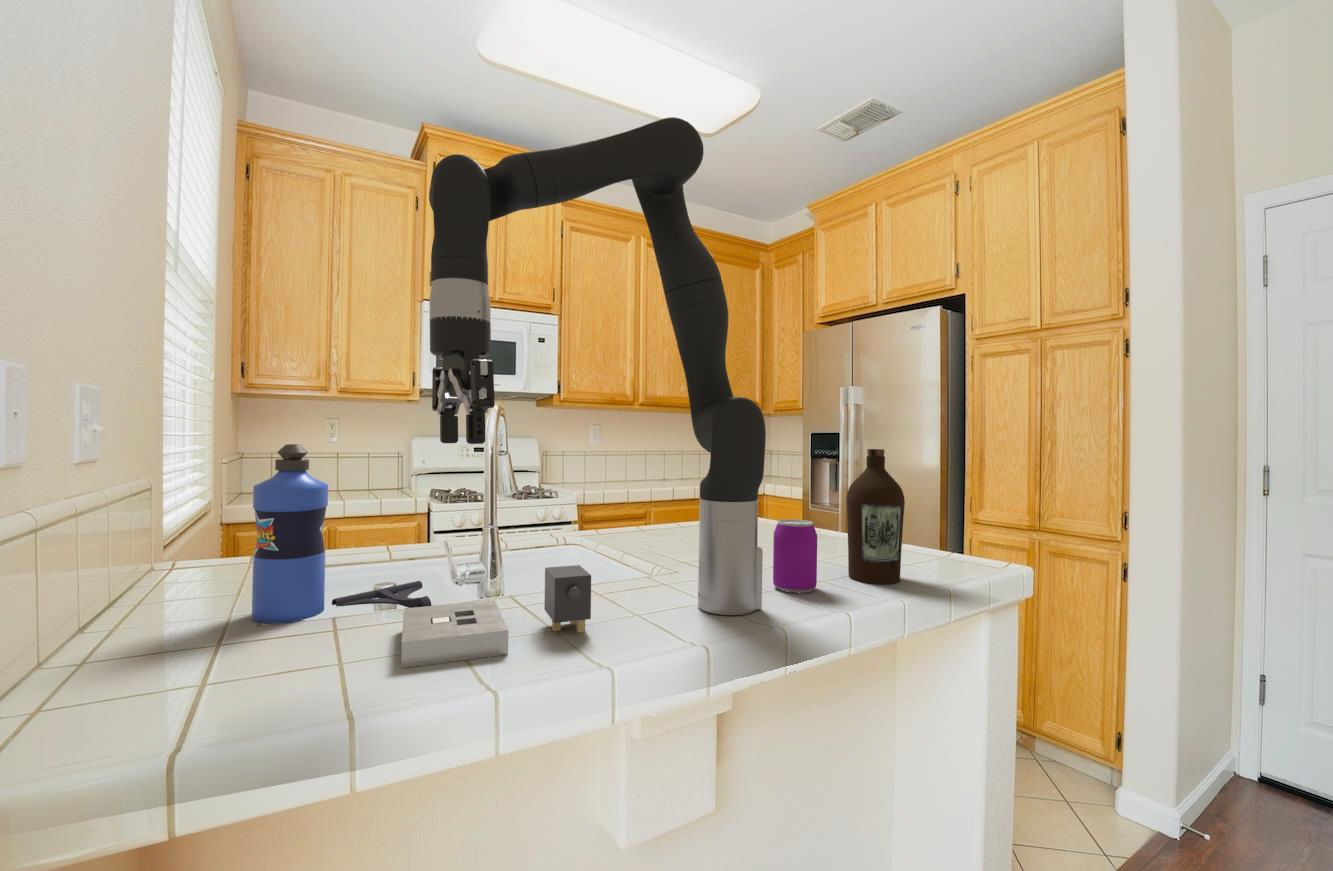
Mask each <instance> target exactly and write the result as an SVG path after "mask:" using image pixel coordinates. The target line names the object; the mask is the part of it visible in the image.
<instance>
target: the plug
mask: <svg viewBox="0 0 1333 871" xmlns="http://www.w3.org/2000/svg"><path fill="white" fill-rule="evenodd" d="M591 600H592V575H591V573H589V572H588V570H586V569H585V568H583V567H582V566H581V565H580V564H576V565H562V566H561V565H560V566H548V567H544V610H545V612H546V614H547V615H548V616H549V618H550V619H551V630H552V631H553V632H557V631H561V629H562V627H561V623H568V622H569V623H570V625H575V631H576V632H577V633H586V620H591V619H592V618H591V617H592V616H591V615H592V610H591V609H592V601H591Z"/></svg>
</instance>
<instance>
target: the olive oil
mask: <svg viewBox="0 0 1333 871" xmlns="http://www.w3.org/2000/svg"><path fill="white" fill-rule="evenodd" d="M866 450H867V451H866V453H867V456H865V457H866V468H865V469H864V471H863V472H862V473H860V474H859V476H857V478H855V479H854V481H853V482H852V483H851V484H850V485H849V487H848V491H847V494H846V502H845V503H846V519H847V520H846V523H847V524H846V526H847V527H846V528H847V551H848V552H847V553H848V556H847V558H848V560H847V561H848V564H847V565H848V569H847V570H848V577H849V578H850V579H851V580H854V581H857V580H858V581H857V582H860V581H861V583H865V582H867V583H866V584H873V583H875V584H874V585H892V583H893V584H897V583H899V582H900V580H901V567H902V566H901V564H902V547H903V544H902V543H903V532H904V531H903V529H904V528H903V527H904V518H905V506H906V505H905V495H904V492H903V489H902V486H900V484H899V483H898V482H897V481H896V480H895V478H893V476H892V475H891V474H890V473H889V472H888V470H886V468H885V466H886V457H885V449H884V448H867V449H866Z"/></svg>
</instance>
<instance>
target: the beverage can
mask: <svg viewBox="0 0 1333 871" xmlns="http://www.w3.org/2000/svg"><path fill="white" fill-rule="evenodd" d="M772 547H773V550H772V551H773V552H772V554H773V558H772V562H773V563H772V581H773V582H772V584H773V586H774V587H775V588H776V589H777V588H778V589H777V590H779V589H780V590H779V591H781V590H783V591H782V592H784V591H788V592H797V593H796V594H804V593H803V592H808V593H810V592H809V591H811V592H812V591H813V590H814V589H816V587H817V582H818V580H817V579H818V578H817V576H818V572H817V571H818V534H817V531H816V528H815V525H814V522H813V521H811V520H806V519H795V518H792V519H789V518H788V519H787V518H786V519H779V520H778V521H777V523H776V526H775V529H774V531H773V546H772ZM788 592H787V593H788ZM799 592H800V593H799Z"/></svg>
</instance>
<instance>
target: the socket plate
mask: <svg viewBox="0 0 1333 871" xmlns="http://www.w3.org/2000/svg"><path fill="white" fill-rule="evenodd" d="M443 617H449V620H450V622H444V623H434V624H432V619H433V618H443ZM507 655H509V629H508V626H507V625H506V622H505V619H504V617H503V615H502V614H501V610H500V609H499V606H498V605H497V602H496V600H495V599H490V600H481V601H480V600H478V601H470V602H469V601H468V602H459V603H458V602H457V603H447V604H437V605H432V606H425V607H414V608H408V607H405V608H403V616H402V634H401V656H400V657H401V664H400V665H401V666H400V668H401V669H406V668H407V669H408V668H412V667H413V668H414V667H420V666H429V665H430V666H431V665H437V664H444V663H445V664H446V663H451V662H452V663H453V662H459V661H466V660H467V661H468V660H474V659H475V660H476V659H483V658H490V657H497V656H498V657H499V656H507Z"/></svg>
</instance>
